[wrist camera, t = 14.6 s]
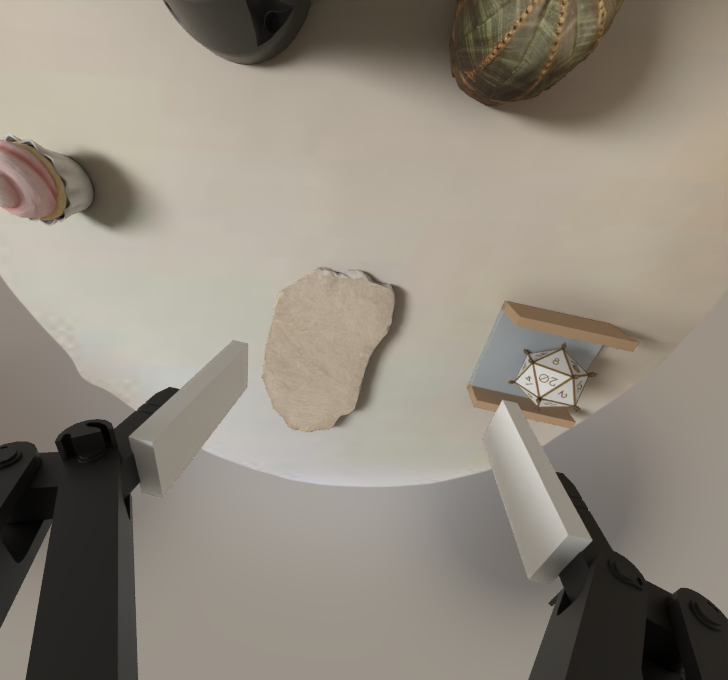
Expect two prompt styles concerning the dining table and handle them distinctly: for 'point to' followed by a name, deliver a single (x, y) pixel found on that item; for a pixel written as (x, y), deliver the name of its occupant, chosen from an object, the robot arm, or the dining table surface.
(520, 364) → the track
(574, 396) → the game die
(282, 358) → the stone tablet
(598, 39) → the woven dome ornament
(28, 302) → the dining table surface
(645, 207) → the dining table surface
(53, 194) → the cupcake
